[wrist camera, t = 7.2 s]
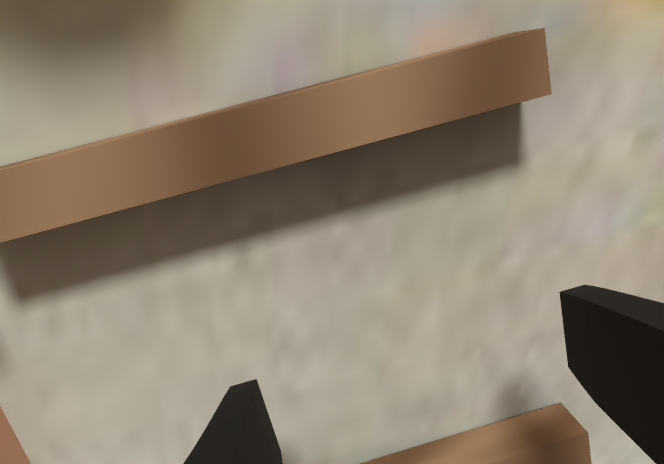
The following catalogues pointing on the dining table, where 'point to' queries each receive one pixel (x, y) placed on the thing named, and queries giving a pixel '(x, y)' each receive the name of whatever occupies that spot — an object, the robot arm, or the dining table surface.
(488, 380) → the dining table surface
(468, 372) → the dining table surface
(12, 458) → the block
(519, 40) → the channel
